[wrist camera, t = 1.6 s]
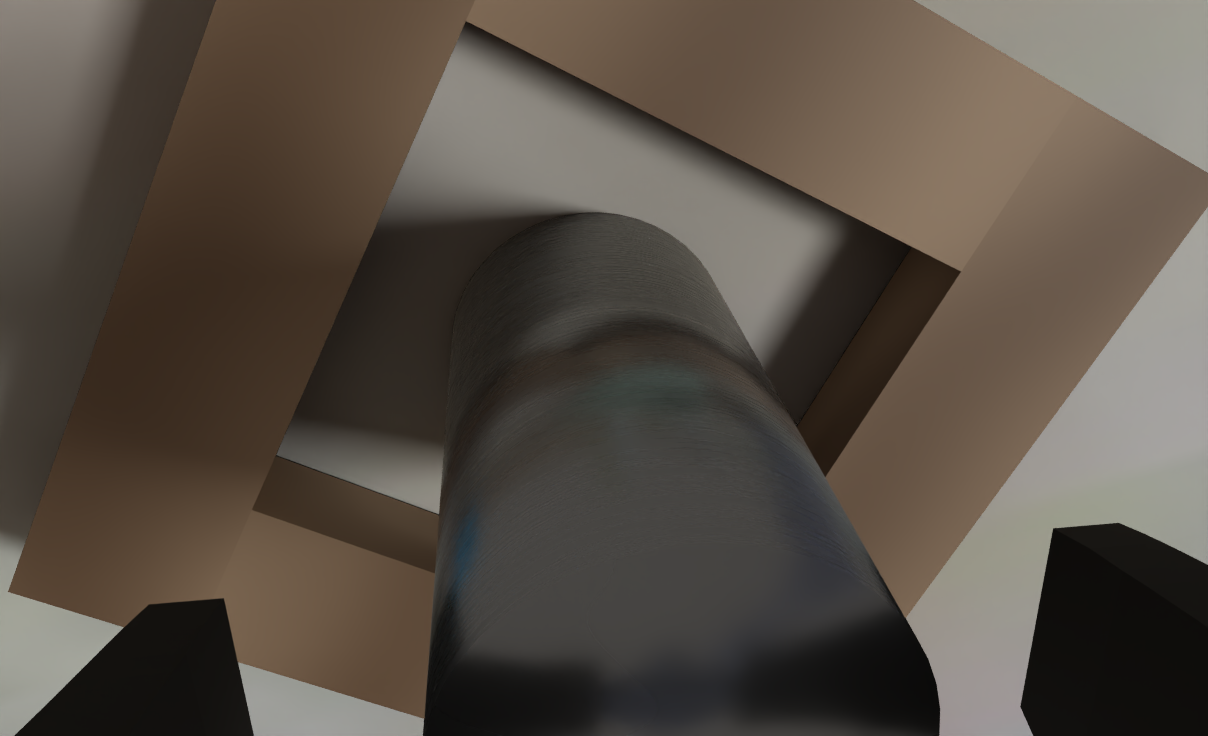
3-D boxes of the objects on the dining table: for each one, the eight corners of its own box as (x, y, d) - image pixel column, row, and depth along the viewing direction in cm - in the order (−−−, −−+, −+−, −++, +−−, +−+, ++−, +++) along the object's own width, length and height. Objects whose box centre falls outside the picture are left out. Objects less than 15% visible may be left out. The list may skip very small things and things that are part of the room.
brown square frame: (1157, 155, 15) (1225, 182, 14) (737, 752, 19) (756, 820, 18) (352, -314, 12) (335, -339, 10) (50, 529, 16) (8, 591, 14)
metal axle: (776, 283, 15) (1041, 650, 8) (646, 501, 16) (773, 984, 9) (525, 163, 14) (567, 464, 7) (407, 408, 15) (340, 875, 8)
